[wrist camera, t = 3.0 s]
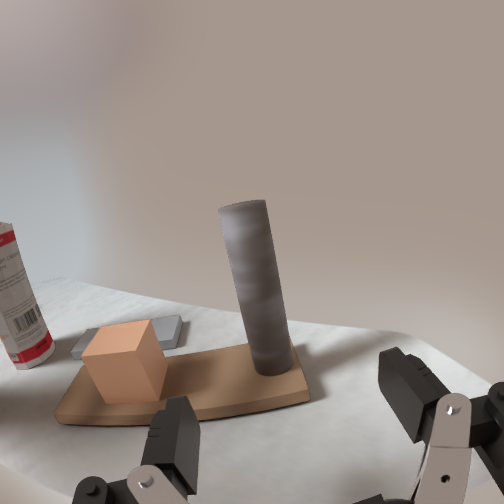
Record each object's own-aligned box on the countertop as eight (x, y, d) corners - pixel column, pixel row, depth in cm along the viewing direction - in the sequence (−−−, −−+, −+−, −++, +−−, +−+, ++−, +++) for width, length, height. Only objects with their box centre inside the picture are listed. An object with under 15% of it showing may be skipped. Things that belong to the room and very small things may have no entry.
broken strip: (74, 359, 32) (70, 351, 31) (90, 336, 37) (87, 329, 37) (175, 348, 32) (172, 339, 32) (182, 322, 38) (179, 314, 37)
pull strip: (59, 423, 20) (-15, 278, 16) (86, 374, 28) (36, 250, 24) (310, 400, 20) (280, 205, 17) (290, 345, 28) (264, 194, 24)
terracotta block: (106, 403, 21) (80, 356, 20) (121, 370, 26) (101, 326, 25) (158, 400, 21) (135, 350, 20) (167, 365, 26) (150, 319, 25)
